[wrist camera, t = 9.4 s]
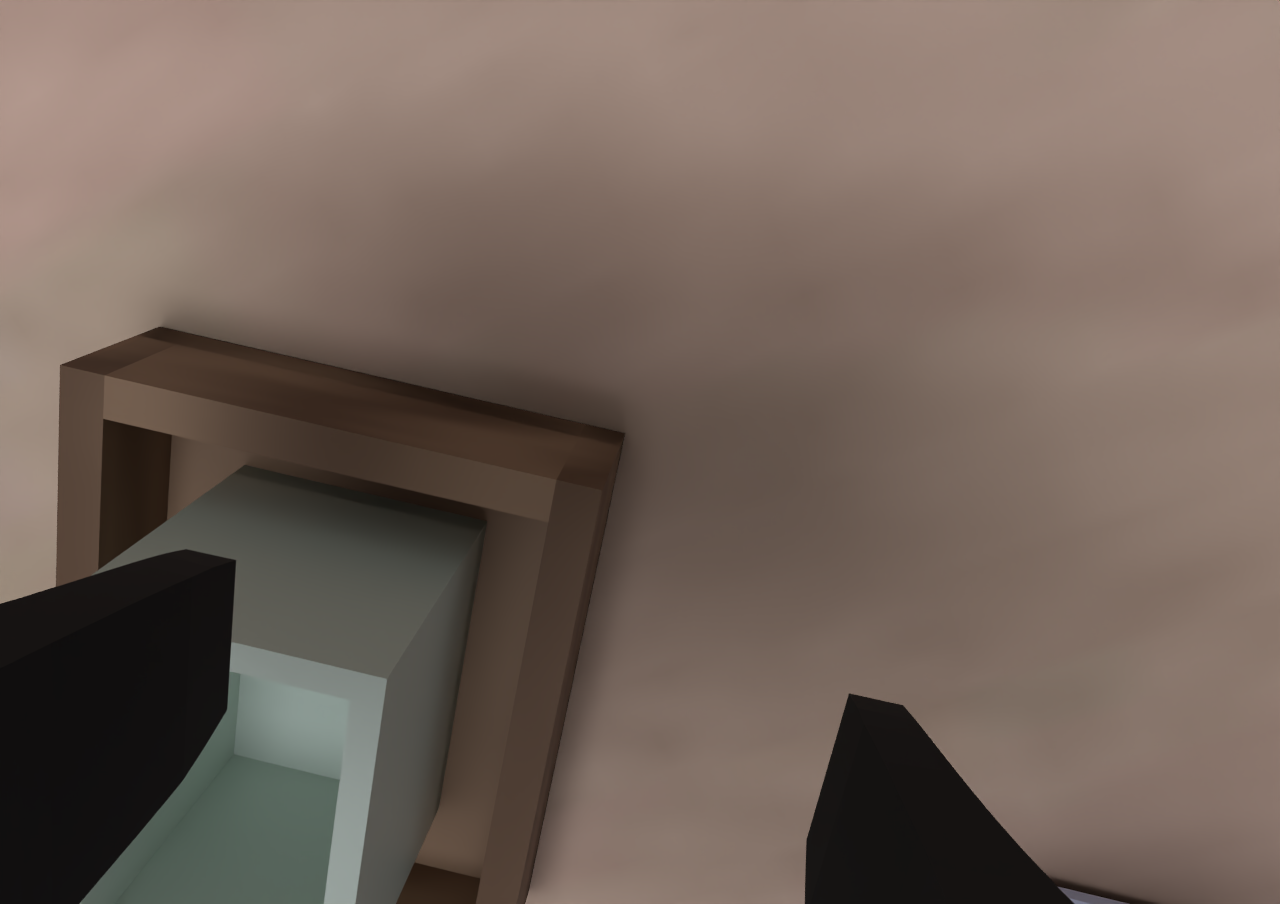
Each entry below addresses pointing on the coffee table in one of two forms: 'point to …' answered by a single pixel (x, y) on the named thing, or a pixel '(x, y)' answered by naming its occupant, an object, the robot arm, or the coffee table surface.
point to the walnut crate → (392, 468)
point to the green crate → (313, 697)
